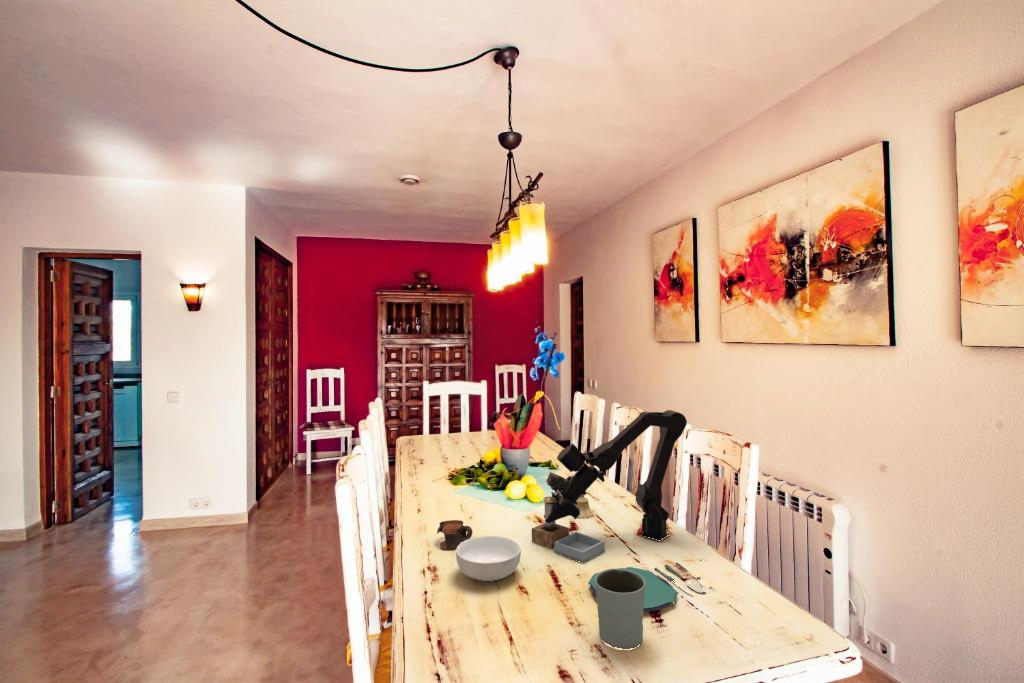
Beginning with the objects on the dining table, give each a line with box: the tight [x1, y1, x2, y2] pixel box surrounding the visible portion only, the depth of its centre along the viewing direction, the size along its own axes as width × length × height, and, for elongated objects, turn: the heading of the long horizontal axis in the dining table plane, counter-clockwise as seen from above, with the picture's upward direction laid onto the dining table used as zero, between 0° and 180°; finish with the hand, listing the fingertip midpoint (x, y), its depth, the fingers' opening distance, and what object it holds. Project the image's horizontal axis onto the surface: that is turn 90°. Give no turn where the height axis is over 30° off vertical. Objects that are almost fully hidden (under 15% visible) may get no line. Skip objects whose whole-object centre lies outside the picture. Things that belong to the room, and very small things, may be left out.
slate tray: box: [553, 531, 606, 564], centre depth 140 cm, size 10×10×3 cm
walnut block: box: [531, 522, 570, 550], centre depth 148 cm, size 8×8×4 cm
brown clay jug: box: [436, 519, 473, 550], centre depth 148 cm, size 12×10×8 cm
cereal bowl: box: [455, 535, 522, 582], centre depth 128 cm, size 17×17×7 cm
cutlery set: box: [587, 562, 702, 613], centre depth 119 cm, size 20×30×2 cm, turn 109°
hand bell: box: [576, 494, 595, 520], centre depth 171 cm, size 8×8×16 cm
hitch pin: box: [543, 496, 557, 532], centre depth 148 cm, size 4×4×13 cm
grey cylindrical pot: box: [595, 568, 646, 649], centre depth 99 cm, size 10×10×12 cm
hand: (545, 519), depth 148 cm, fingers closed on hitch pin, 3 cm apart
